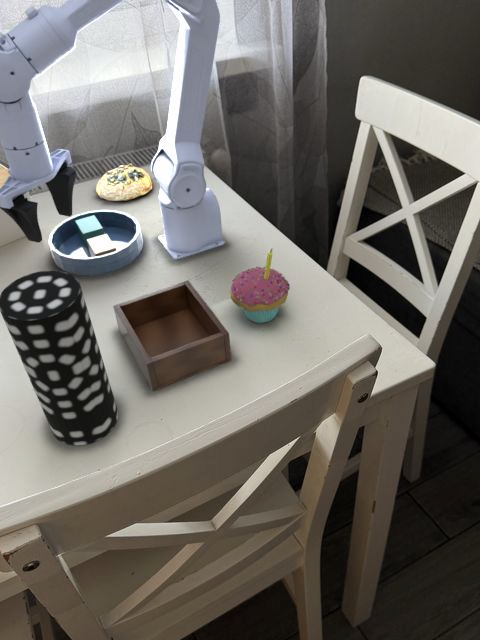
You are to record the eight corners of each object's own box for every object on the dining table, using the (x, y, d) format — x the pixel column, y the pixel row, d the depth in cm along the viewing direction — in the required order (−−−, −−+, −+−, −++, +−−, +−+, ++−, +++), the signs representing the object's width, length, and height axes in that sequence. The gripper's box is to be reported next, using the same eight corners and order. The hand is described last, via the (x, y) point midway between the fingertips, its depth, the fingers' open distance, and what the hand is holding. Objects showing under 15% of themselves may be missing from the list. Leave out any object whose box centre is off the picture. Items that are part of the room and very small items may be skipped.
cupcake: (296, 301, 91) (296, 234, 83) (278, 337, 85) (277, 268, 77) (243, 291, 93) (239, 224, 85) (223, 325, 87) (216, 257, 79)
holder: (192, 306, 91) (188, 279, 88) (231, 360, 82) (229, 333, 79) (119, 331, 87) (112, 305, 84) (152, 391, 78) (146, 364, 75)
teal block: (98, 229, 107) (94, 215, 105) (106, 242, 104) (102, 228, 102) (79, 235, 106) (74, 220, 104) (87, 248, 103) (82, 233, 100)
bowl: (126, 218, 110) (122, 201, 108) (156, 259, 100) (153, 241, 98) (44, 242, 105) (38, 225, 103) (67, 287, 95) (61, 269, 93)
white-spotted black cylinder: (57, 397, 78) (8, 273, 64) (121, 392, 78) (85, 267, 65) (45, 448, 72) (-12, 323, 58) (115, 442, 72) (74, 317, 59)
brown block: (110, 248, 102) (106, 233, 100) (119, 263, 99) (116, 247, 97) (90, 254, 101) (86, 239, 99) (99, 269, 98) (95, 254, 96)
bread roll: (125, 170, 124) (122, 148, 120) (165, 191, 120) (163, 169, 116) (85, 194, 118) (80, 172, 114) (125, 217, 114) (122, 195, 110)
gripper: (33, 117, 88) (58, 199, 97) (-37, 160, 78) (-2, 247, 87) (73, 123, 85) (94, 207, 95) (6, 167, 76) (37, 256, 85)
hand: (51, 227), depth 91 cm, fingers open, 7 cm apart
